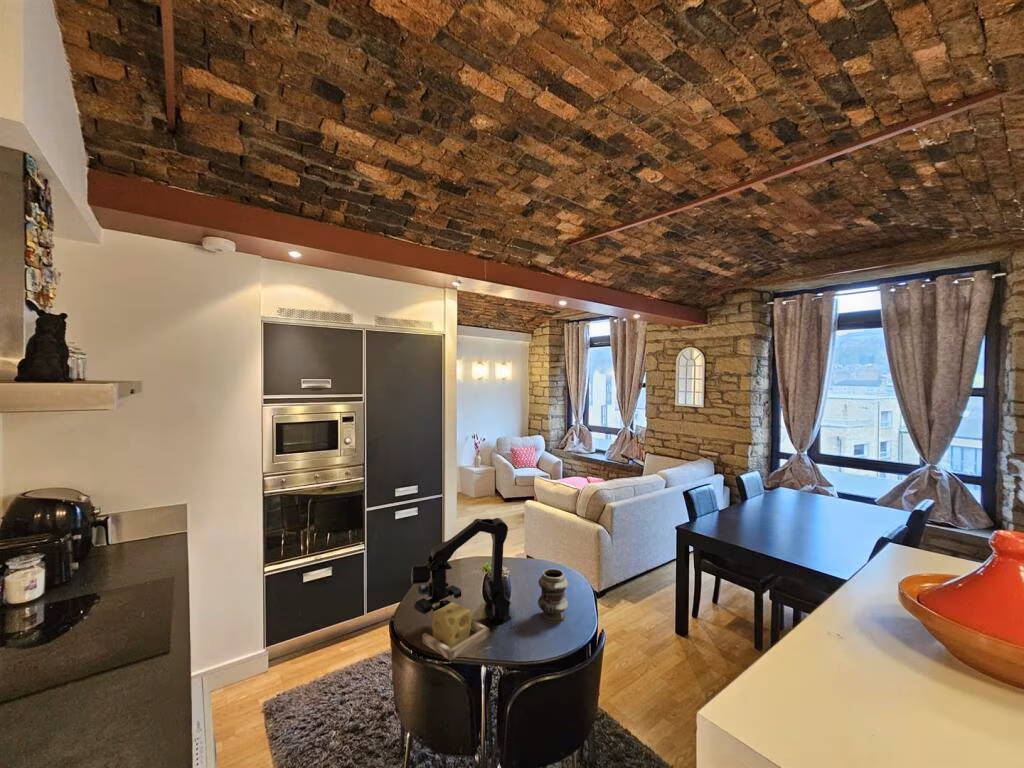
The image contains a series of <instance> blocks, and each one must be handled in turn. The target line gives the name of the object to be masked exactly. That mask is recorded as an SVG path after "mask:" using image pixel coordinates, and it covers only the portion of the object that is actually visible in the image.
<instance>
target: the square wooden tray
mask: <svg viewBox="0 0 1024 768" xmlns="http://www.w3.org/2000/svg"><path fill="white" fill-rule="evenodd" d="M470 631H472V632H475V633H473V634H472V635H469V637H468V638H466V639H464V640H463V641H461V642H459V643H458V644H456V645H455V646H453V647H452V648H450V647H448V646H446V645H445V644H444V642H440V641H438V640H437V639H435V638H433V635H430V634H428V633H427V632H424V633H423V634H422V644H423V645H424V646H426V647H428V648H430V649H432V650H433V651H434V652H435V653H438V654H439V655H441V656H442V657H444V658H446V659H447V660H449V661H452V660H454V659H456V658H457V657H459V656H460V655H462V654H463V653H465V652H466V651H468V650H471V649H472V648H473V647H475V646H476V645H478V644H480V643H481V642H483V641H484V640H486V639H487V638H489V637H490V628H489V627H487V626H486V625H484V624H482V623H481V622H478V621H476V620H475V619H472V618H471V628H470Z"/></svg>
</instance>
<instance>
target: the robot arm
mask: <svg viewBox="0 0 1024 768" xmlns="http://www.w3.org/2000/svg"><path fill="white" fill-rule="evenodd" d="M508 531H509V527H508V525H507V524H506V522H504V521H503V519H502V518H500V517H495V518H476V519H474V520H473V521H472V522H471V523H470V524H468V525H466V527H464V528H462V530H460V531H458V533H457V534H455V535H454V536H453V537H452V538H450V539H448V540H446V541H443V542H440V543H439V544H437V545H435V546H434V547H432V548H431V552H430V555H429V556H428V557H427V559H426V560H425V563H422V564H421V563H420V564H412V568H411V573H410V574H411V575H410V576H411V577H410V579H411V585H418V587H417V591H418V594H419V595H422V596H424V595H427V597H428V599H426V598H425V597H423V598H421V599H417V600H416V601H415V602H414V605H413V606H414V610H415V611H417V612H419V613H421V614H422V615H426V614H427V613H429V612H430V613H431V611H432V613H433V612H434V611H436V610H438V609H440V608H442V607H444V606H446V605H448V604H449V603H451V601H449V598H450V597H452V596H453V598H454V599H455V600H456V599H458V598H461V597H462V589H461V588H459V587H457V586H455V585H450V584H449V582H447V570H452V569H453V568H452V565H451V563H450V562H449V560H450V559H451V558H452V556H453V555H454V553H455V552H456V551H457V550H458V549H459V548H460V547H461V548H462V546H463V545H465V544H466V543H467V542H468V541H470V540H471V539H472V538H474V537H475V536H476V535H478V533H481V532H482V533H485V534H486V533H487V534H490V536H491V540H492V546H491V547H492V549H491V550H492V551H491V569H490V571H491V572H490V578H489V580H485V591H486V593H487V595H488V598H489V599H490V600H491V604H492V605H491V616H489V620H491V621H493V622H495V623H497V624H499V625H503V624H504V623H506V622H508V621H509V620H511V619H512V616H511V615H509V614H510V606H511V600H510V599H509V598H508V595H506V593H505V586H504V582H503V565H504V564H503V563H504V559H503V558H504V544H505V541H506V539H507V537H508V536H507V535H508ZM430 579H431V580H430ZM429 581H430V582H429ZM419 584H420V585H419ZM449 585H450V586H449ZM429 598H430V599H429Z"/></svg>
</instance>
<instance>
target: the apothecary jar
mask: <svg viewBox="0 0 1024 768" xmlns="http://www.w3.org/2000/svg"><path fill="white" fill-rule="evenodd" d="M538 586H539V587H540V588H541V595H540V596H539V598H538V600H537V604H538V608H540V610H541V611H542V612H541V614H540V618H541V620H543V622H545V623H549V624H560V623H561V622H564V621H565V619H566V615H565V614H564V612H565V611H566V610H567V609H568V607H569V602H568V599H567V597H566V596H565V595H566V589H567V587H568V586H569V582H568V579H567V578H566V576H565V574H564V572H563V570H561V569H558V568H552V567H551V568H547V569H544V570H543V571H542V575H541V576H540V577H539V579H538Z"/></svg>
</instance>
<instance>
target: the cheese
mask: <svg viewBox="0 0 1024 768" xmlns="http://www.w3.org/2000/svg"><path fill="white" fill-rule="evenodd" d="M471 619H472V613H471V609H468V608H465V607H463V606H461V605H458V604H457V603H456V602H453V601H452V602H450V603H449V604H448V605H446V606H444V607H442V608H440V609H438V610H436V611H434V612H433V611H432V637H433V638H435V639H437V640H438V641H440V642H442V643H443V644H445V645H446V646H448V647H450V648H452V647H454V646H455V645H457V644H459V643H460V642H462V641H464V640H465V639H467V638H469V637H470V631H471V629H470V628H471Z"/></svg>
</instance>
